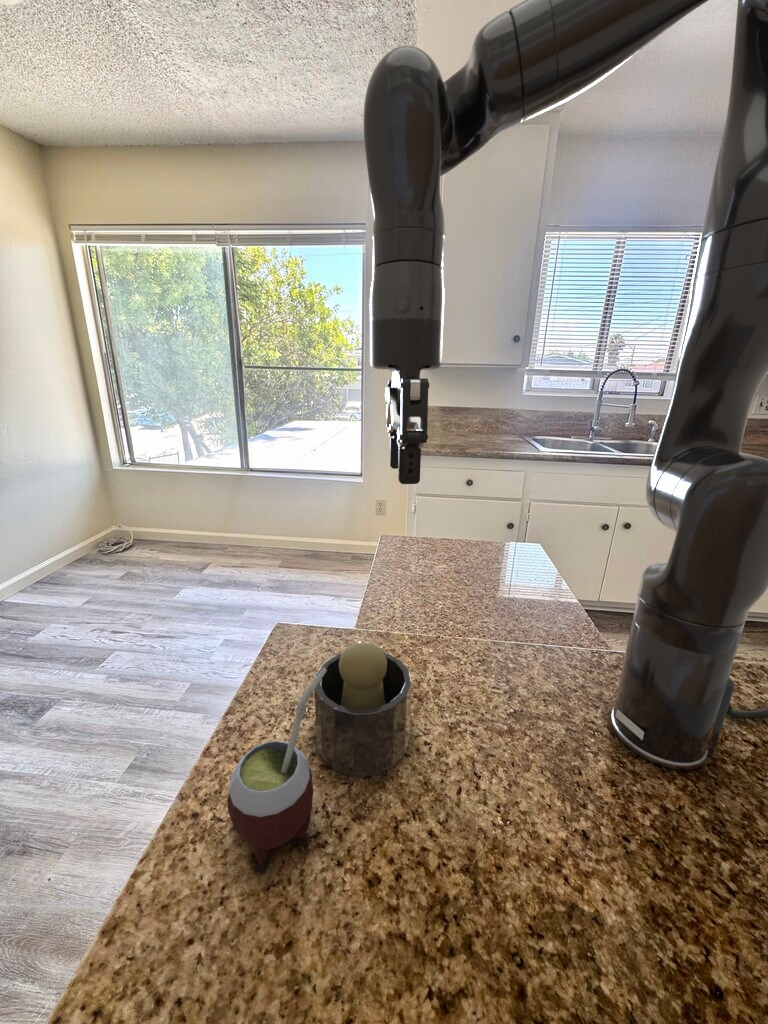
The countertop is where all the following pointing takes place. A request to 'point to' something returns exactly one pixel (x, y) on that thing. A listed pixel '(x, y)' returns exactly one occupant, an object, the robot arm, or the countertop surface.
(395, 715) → the mug
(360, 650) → the beige pawn figure
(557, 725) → the countertop surface
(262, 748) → the mate gourd
